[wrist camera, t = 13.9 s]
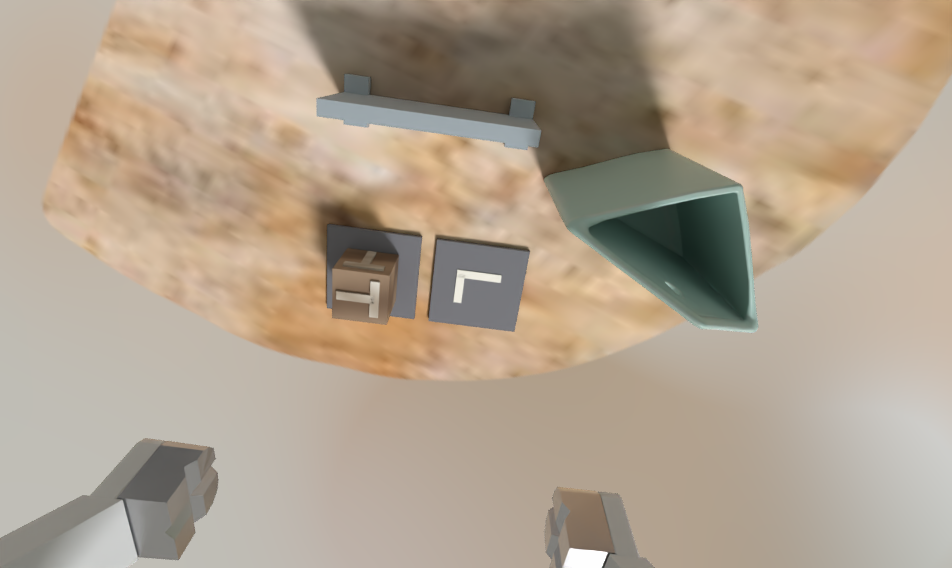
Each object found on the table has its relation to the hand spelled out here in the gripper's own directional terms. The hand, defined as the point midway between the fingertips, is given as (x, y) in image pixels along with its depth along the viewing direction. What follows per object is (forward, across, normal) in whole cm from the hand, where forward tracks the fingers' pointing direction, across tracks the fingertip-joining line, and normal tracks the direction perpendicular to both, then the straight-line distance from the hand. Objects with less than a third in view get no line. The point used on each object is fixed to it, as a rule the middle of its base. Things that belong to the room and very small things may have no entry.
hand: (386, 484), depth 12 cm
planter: (+36, -17, 0) cm, 39 cm away
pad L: (+35, -3, +12) cm, 37 cm away
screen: (+36, +2, -4) cm, 36 cm away
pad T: (+35, +7, +12) cm, 38 cm away
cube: (+35, +7, +12) cm, 37 cm away
